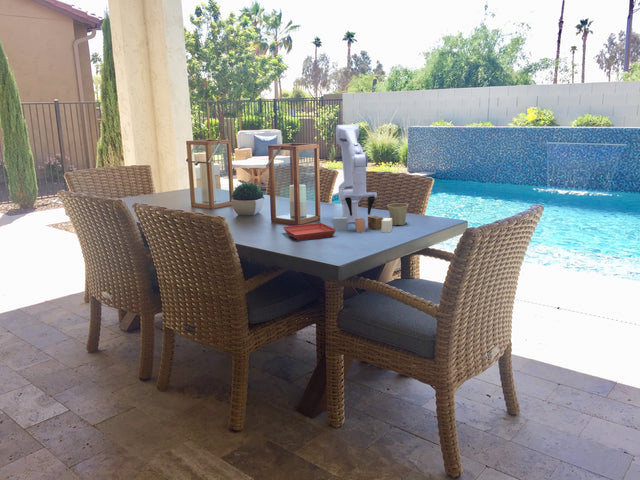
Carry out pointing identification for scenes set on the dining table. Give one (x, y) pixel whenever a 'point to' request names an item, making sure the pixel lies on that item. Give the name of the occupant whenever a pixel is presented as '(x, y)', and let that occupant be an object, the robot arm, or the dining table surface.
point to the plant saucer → (310, 231)
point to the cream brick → (387, 225)
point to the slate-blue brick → (340, 223)
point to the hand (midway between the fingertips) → (360, 214)
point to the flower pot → (398, 213)
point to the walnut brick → (375, 222)
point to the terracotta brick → (360, 224)
